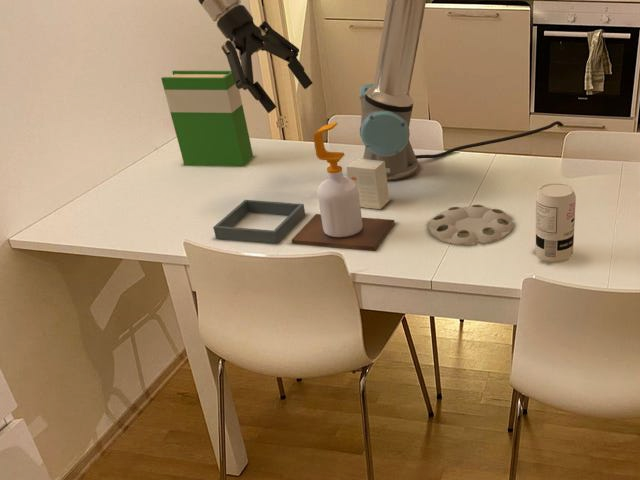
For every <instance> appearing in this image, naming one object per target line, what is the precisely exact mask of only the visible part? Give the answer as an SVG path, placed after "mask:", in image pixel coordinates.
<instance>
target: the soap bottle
mask: <svg viewBox="0 0 640 480" xmlns="http://www.w3.org/2000/svg"><path fill="white" fill-rule="evenodd" d="M337 125H338V122H337V121H335V122H332V123H329V124H325V125H323V126H321V127H320V128H319V129H318V130H317V131H315V132H314V134H313V145H314V149H315V156H316V158H317V159H319V160H321V161H326V162H327V163H328V164H329V166H328V167H327V168H326V174H327V178H326V179H324V180H323V181H322V182H321V183H320V184H319V185H318V187H317V190H316V194H317V200H318V207H319V211H320V213H319V214H321V219H322V225H323V230H324V232H325V234H327V235H328V236H332V237H348V236H352V235H354V234H356V233H358V232H360V231H361V230H362V227H363V223H362V218H363V216H362V209H361V208H362V207H360V201H359V193H358V188H357V186H356V184H355V182H353V181H352V180H350V179H349V178H348V177H345V176H344V172H343V166H341V165H339V164H338V163H339V162H340V161H341V160H342V158H343V157H345V155H346V154H345V152H344V151H343V152H342V151H328V150H326V147H325V143H324V142H325V141H324V136H323V133H326V132H328V131H331V130H334V128H335V127H336V126H337Z"/></svg>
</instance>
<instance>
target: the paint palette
mask: <svg viewBox="0 0 640 480" xmlns="http://www.w3.org/2000/svg"><path fill="white" fill-rule="evenodd" d="M498 221H500V222H502V223H504V224H502V223H499V222H498ZM445 227H446V229H445V230H442V231H439V230H440V229H442V228H445ZM513 227H514V225H513V222H511V218H510V216H508V214H507V213H506V212H505V211H504V210H501V209H498V208H493V209H490V208H487V207H486V206H484V205H482V204H472V205H470V206H468V207H463V208H462V207H459V206H452V207H449V208H447V209H446V210H445V211H444V212H443V213H441V214H439V215H436V216H434V217H433V218H432V219H431V220H430V221H429V232H430V234H431V235H432V237H434V238H435V239H437V240H439V241H441V242H443V243H447V244H451V245H456V246H475V245H476V244H478V243H481V244H482V245H484V244H490V243H494V242H496V241H499V240H501V239H503V238H505V237H506V236H508V234H510V233H511V232H512V231H513ZM491 230H493V231H494V233H493V234H491V235H490V234H486V233H484V232H488V231H491ZM464 234H465V235H466V234H467V235H468V236H465V237H459V236H458V235H464Z"/></svg>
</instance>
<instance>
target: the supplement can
mask: <svg viewBox="0 0 640 480" xmlns="http://www.w3.org/2000/svg"><path fill="white" fill-rule="evenodd" d="M576 201H577V196H576V193H575V192H574V188H573V187H572V186H571V185H568V184H566V183H559V182H553V183H547V184H544V185H541V186H540V188H539V190H538V192H537V194H536V196H535V245H534V247H535V250H534V253H535V255H536V256H537V257H538V258H539V259H540V260H541V261H544V262H546V263H562V262H565V261H567V260H569V259H570V258H571V257H573V255H574V241H575V222H576Z"/></svg>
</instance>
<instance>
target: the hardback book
mask: <svg viewBox="0 0 640 480" xmlns="http://www.w3.org/2000/svg"><path fill="white" fill-rule="evenodd" d="M171 72H172V75H171V76H163V77H161V78H160V79H161V83H162V86H163V90H164V94H165V97H166V102H167V105H168V109H169V113H170V118H171V120H172V125H173V128H174V131H175V135H176V139H177V142H178V143H177V144H178V146H179V151H180V154H181V157H182V161H183V165H184V166H202V167H203V166H205V167H206V166H207V167H208V166H209V167H245V166H246V165H247V164H248V163H249V162H250V161H252V159H253V158H254V154H253V148H252V144H251V139H250V135H249V130H248V125H247V119H246V115H245V109H244V105H243V102H242V101H243V100H242V96H241V90H240V89H238V88H237V87H236V84H235V81H234V78H233V75H232V72H231V70H172V71H171Z"/></svg>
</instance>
